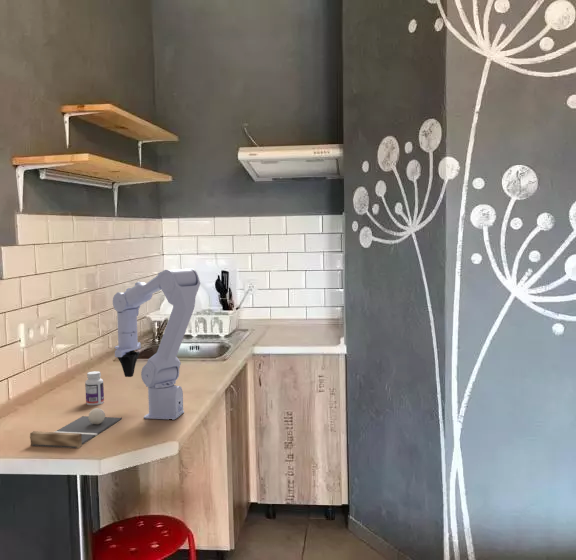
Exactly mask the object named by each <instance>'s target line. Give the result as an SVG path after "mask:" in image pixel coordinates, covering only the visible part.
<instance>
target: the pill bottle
mask: <svg viewBox="0 0 576 560" xmlns="http://www.w3.org/2000/svg"><path fill="white" fill-rule="evenodd" d="M86 376H87V379H86V380H85V382H84V383H85V385H84V386H85V403H86V405H88V406H97V405H103V403H105V392H104V380H103V378H101V377H102V374H101V372H100V371H95V370H94V371H88V372H87V373H86Z"/></svg>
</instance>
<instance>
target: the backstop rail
mask: <svg viewBox="0 0 576 560" xmlns="http://www.w3.org/2000/svg"><path fill="white" fill-rule="evenodd" d="M29 437H30V438H29V439H30V446H31V447H35V446H34V445H33V444H37V445H41V446H40V447H46V446H45V445H47V446H48V445H50V446H52V445H54V446H55V445H56V446H76V447H77V448H76V449H80V448H81V447H83V445H82V438H81V434H80V433H59V432H55V431H35V430H33V431H32V432H30V434H29ZM42 445H44V446H42ZM68 448H69V447H68Z"/></svg>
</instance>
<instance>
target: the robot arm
mask: <svg viewBox="0 0 576 560" xmlns="http://www.w3.org/2000/svg"><path fill="white" fill-rule="evenodd" d="M200 281H201V280H200V277H199V274H198V272H197V271H196V270H195V269H194V268H192V267H187V268H182V269H163V270H162V271H159V272H158V273H157V275H156V276H155V277H153V278H152V279H151V280H149V281H148V282H142V281H137V282H135V283H134V286H132V287H128V288H126V290H125V291H124V292H119V291H117V292H116V293H115V294H114V295H113V297H112V307H113V309H114V310H115V311H116V314H117V316H116V317H117V318H116V319H117V343H118V344H117V345H115V346H114V349H116V350H114V358H117V359H118V361H119V362H120V365H121V368H122V370H123V375H124V377H126V378H132V377H134V375H135V374H134V373H135V369H136V364H137V360H138V359H139V357H140V351H136V350H141V348H142V345H141V344H142V343H141V342H140V341H139V336H138V335H139V334H138V316H139V311H140V307H141V305H143V304H145V303H147V302H149V301H150V300H151V299H152V297H153V295H154V294H156V293H157V292H159V291H162V293H163V294H164V296H165V298H166V300H167V302H168V304H170V305H172V310H171V311H170V312H171V313H170V315H169V318H168V320H167V324H166V326H165V329H164V332H163V334H162V337H161V339H160V340H161V341H160V343H159V346H158V348H157V350H156V353H154V354H153V355H152V356H150V357H149V358H148V359H147V362H146V363H145V364H144V365H143V366H142V368H141V372H140V377H141V381H142V382H143V384H144V385H145V387H147V390H148V391H147V393H148V394H147V396H148V397H147V399H148V400H147V401H148V413H146V414H145V415H144V416H143V419H148V420H149V419H150V420H152V419H153V420H169V419H172V420H173V421H174V420H176V419H178V418H179V417H180V416H181V415H182V414H184V413H185V410H184V391H183V388H182V386H180V385H176V384H177V383H176V382H177V380H178V379H179V377H180V368H181V364H182V363H181V361H180V359H179V357H177V356H178V353H179V350H180V347H181V345H182V342H183V340H184V337H185V334H186V332H187V329H188V326H189V324H190V320H191V318H192V315H193V313H194V309H195V305H196V297H197V294H198V292H199V289H200V286H201V282H200ZM138 341H139V342H138Z"/></svg>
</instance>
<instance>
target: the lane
mask: <svg viewBox="0 0 576 560" xmlns="http://www.w3.org/2000/svg"><path fill="white" fill-rule="evenodd" d="M88 416H89V415H87V416H86V415H85V416H84V415H82V416H80V417H79V418H77V419H75V420H73V421H71V422H70V423H68V424H65V426H62V427H60V428H58V429H57V430H56V431H55V430H54V432H59V433H80V434H81V438H82V446H83V445H84V444H85V443H87V442H89V441H90V440H92V439H93V438H95V437H96V436H97V435H98V436H99V434H101V433H103V432H104V431H106V430H107V429H109V428H110V427H112V426H113V425H115V424H116V423H119V421H121V420H122V419H123V418H122V417H115V416H114V417H111V416H109V417H108V416H105V419H104V421H103V422H102V423H100V424H97V425H95V424H92V423H91V422H90V421H89V417H88ZM33 445H34V446H33V447H49V448H51V447H52V448H68V447H69V448H70V449H78V448H77V447H76V446H56V445H55V446H54V445H52V446H50V445H48V446H47V445H45V446H44V445H42V446H41V445H37V444H33Z"/></svg>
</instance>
